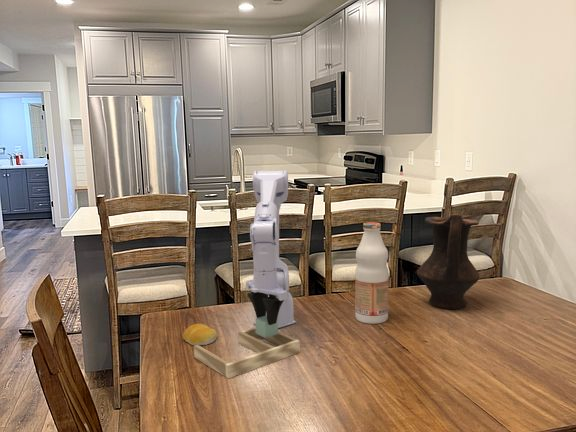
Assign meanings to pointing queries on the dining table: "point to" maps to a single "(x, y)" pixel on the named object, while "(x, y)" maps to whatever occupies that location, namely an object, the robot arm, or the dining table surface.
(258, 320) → the teal block
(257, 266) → the robot arm
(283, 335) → the organiser frame
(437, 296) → the jug
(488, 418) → the dining table surface
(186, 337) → the bread roll
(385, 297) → the fruit juice
